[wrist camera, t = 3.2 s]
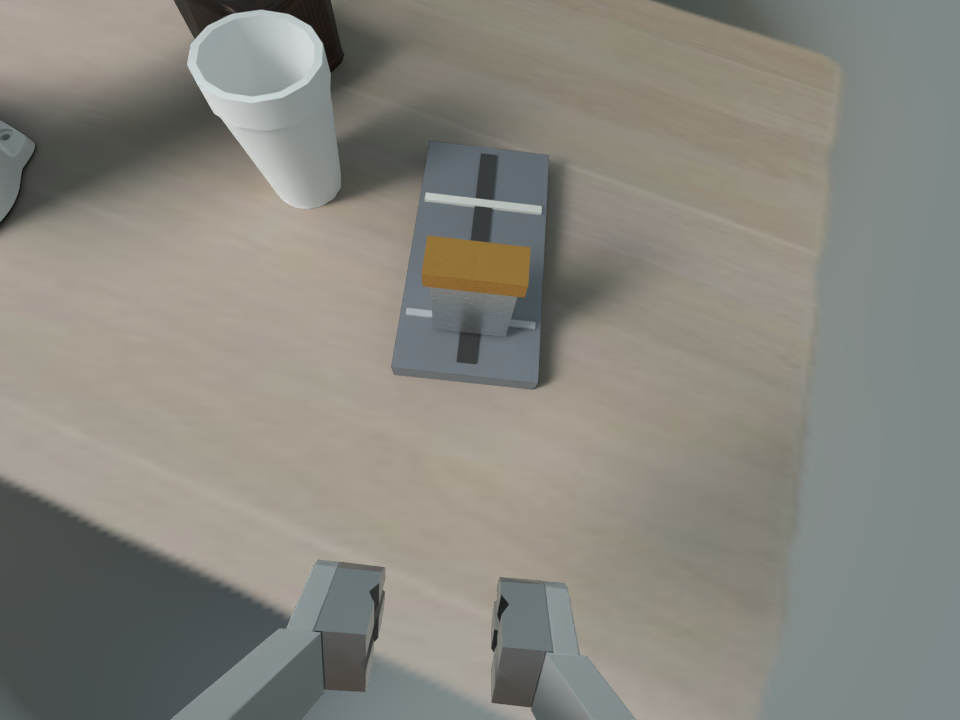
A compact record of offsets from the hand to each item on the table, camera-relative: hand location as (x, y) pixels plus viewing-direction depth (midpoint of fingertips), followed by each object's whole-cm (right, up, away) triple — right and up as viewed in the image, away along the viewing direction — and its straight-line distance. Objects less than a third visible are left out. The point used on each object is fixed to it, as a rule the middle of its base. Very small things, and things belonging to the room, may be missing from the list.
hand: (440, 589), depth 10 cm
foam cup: (-16, +23, +35) cm, 44 cm away
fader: (0, +9, +28) cm, 29 cm away
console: (+1, +15, +32) cm, 36 cm away
